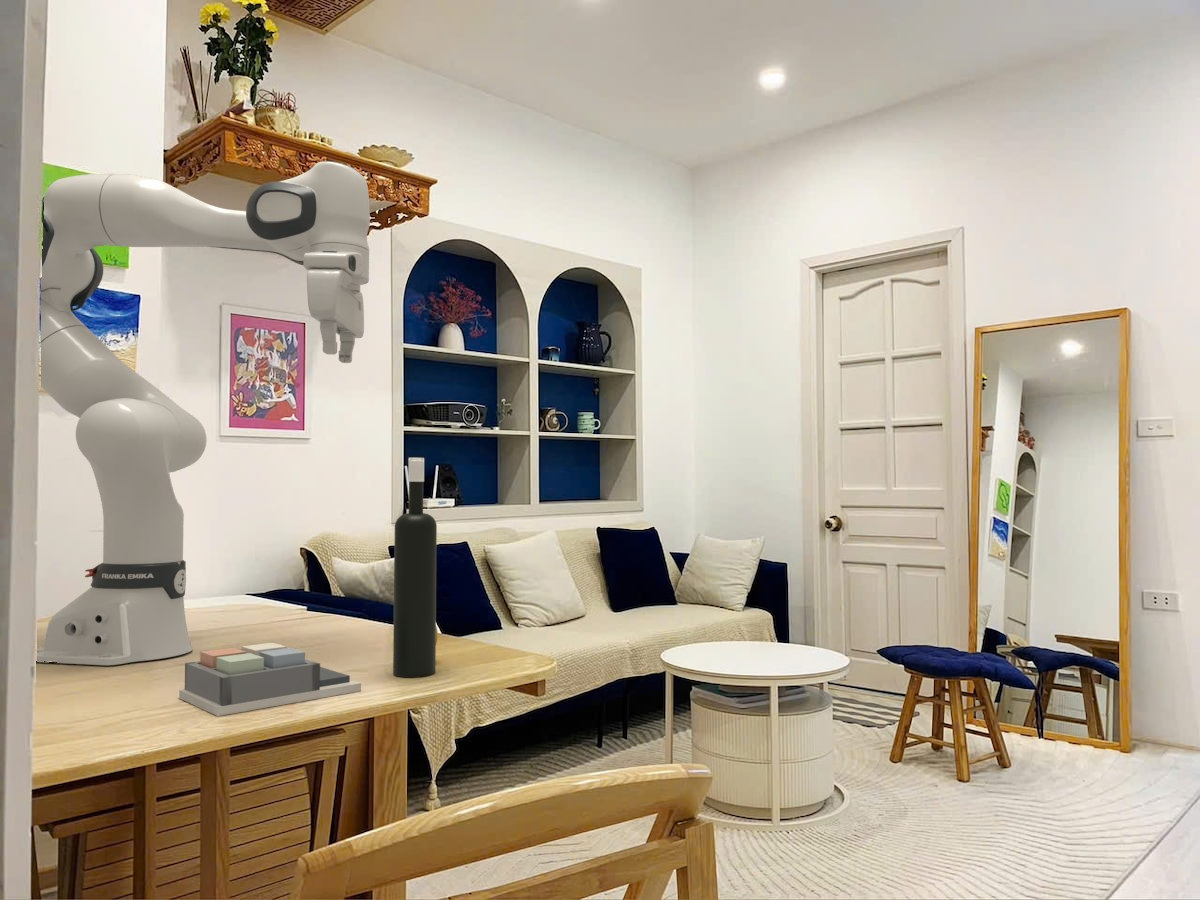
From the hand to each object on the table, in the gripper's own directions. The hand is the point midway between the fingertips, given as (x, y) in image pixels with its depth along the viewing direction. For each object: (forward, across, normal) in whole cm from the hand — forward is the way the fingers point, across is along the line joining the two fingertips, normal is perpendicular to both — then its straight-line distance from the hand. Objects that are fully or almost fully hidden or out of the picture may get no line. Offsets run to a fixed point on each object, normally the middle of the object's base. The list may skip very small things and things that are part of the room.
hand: (337, 358), depth 138 cm
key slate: (+42, +26, 0) cm, 50 cm away
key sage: (+42, +29, -4) cm, 52 cm away
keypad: (+46, +24, -1) cm, 52 cm away
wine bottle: (+46, +12, +14) cm, 49 cm away
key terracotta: (+42, +26, -7) cm, 50 cm away
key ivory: (+42, +22, -3) cm, 48 cm away
